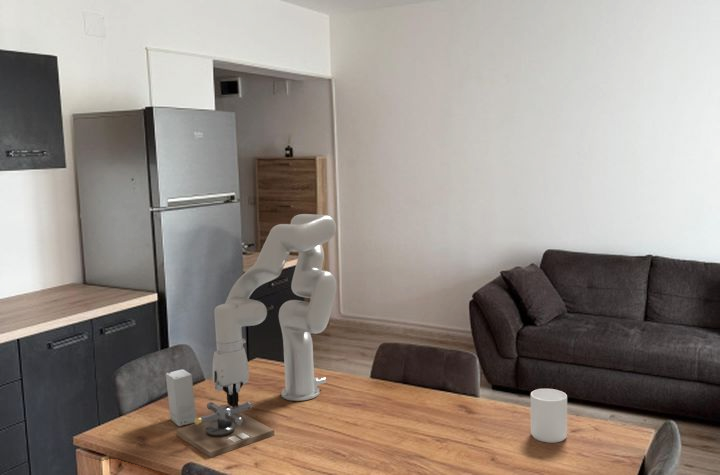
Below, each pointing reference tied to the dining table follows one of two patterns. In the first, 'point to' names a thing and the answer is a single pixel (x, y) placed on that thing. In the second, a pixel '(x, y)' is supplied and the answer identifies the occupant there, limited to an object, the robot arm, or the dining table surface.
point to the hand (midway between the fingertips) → (233, 405)
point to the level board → (219, 445)
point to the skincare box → (181, 397)
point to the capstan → (222, 419)
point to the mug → (549, 415)
